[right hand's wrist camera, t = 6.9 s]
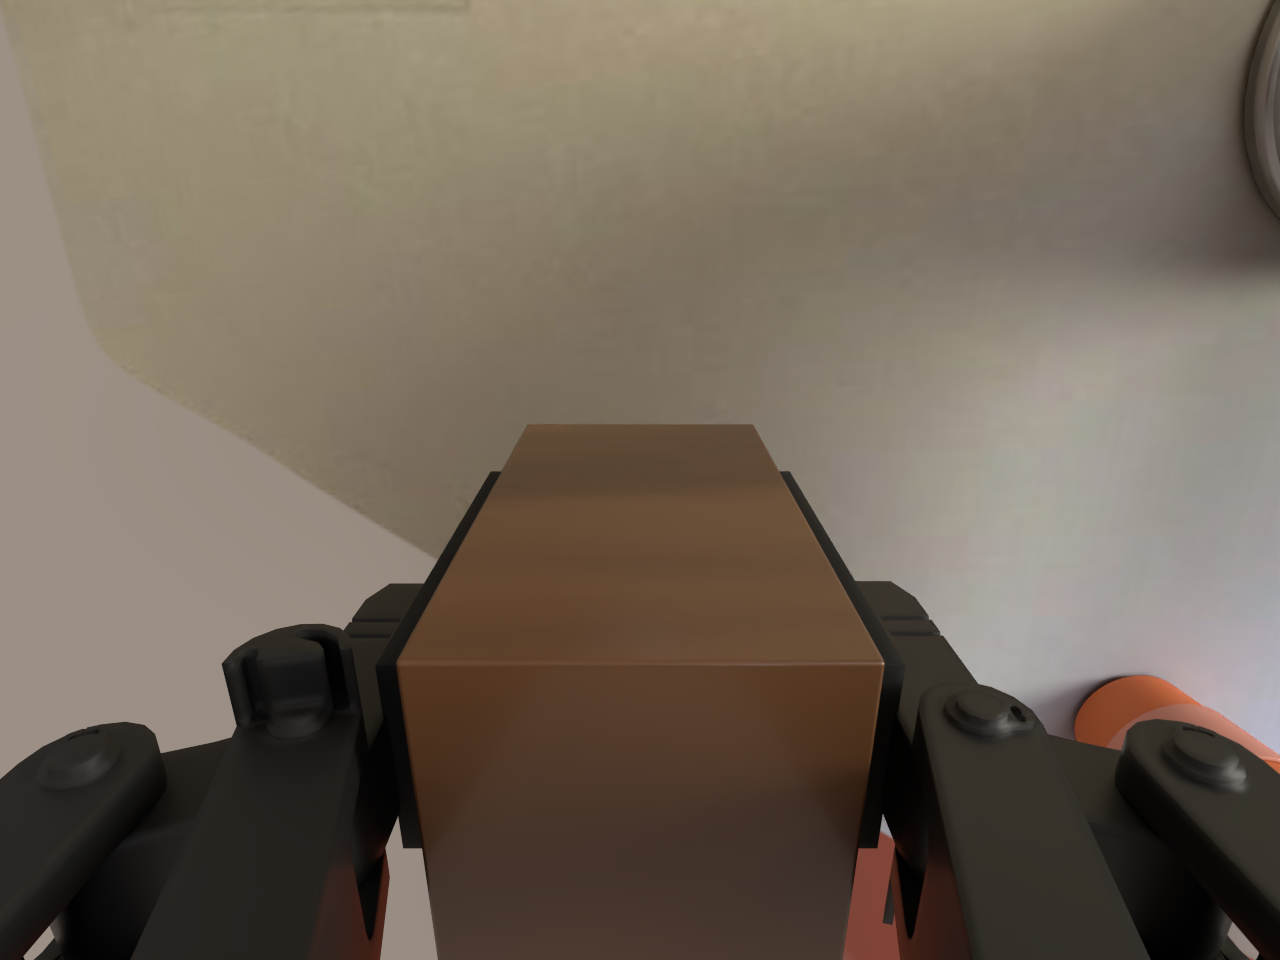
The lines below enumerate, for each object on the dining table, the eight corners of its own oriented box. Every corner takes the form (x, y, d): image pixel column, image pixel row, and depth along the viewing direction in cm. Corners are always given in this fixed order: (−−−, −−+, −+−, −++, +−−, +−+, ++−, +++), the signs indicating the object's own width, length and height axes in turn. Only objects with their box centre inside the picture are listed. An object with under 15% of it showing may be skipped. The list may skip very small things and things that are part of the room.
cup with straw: (1019, 761, 42) (1285, 1132, 25) (1095, 634, 39) (1456, 956, 22) (1154, 793, 43) (1498, 1171, 26) (1238, 672, 40) (1691, 1009, 23)
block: (526, 423, 14) (392, 661, 6) (753, 423, 14) (888, 662, 6) (538, 621, 15) (441, 998, 8) (742, 621, 15) (838, 999, 8)
